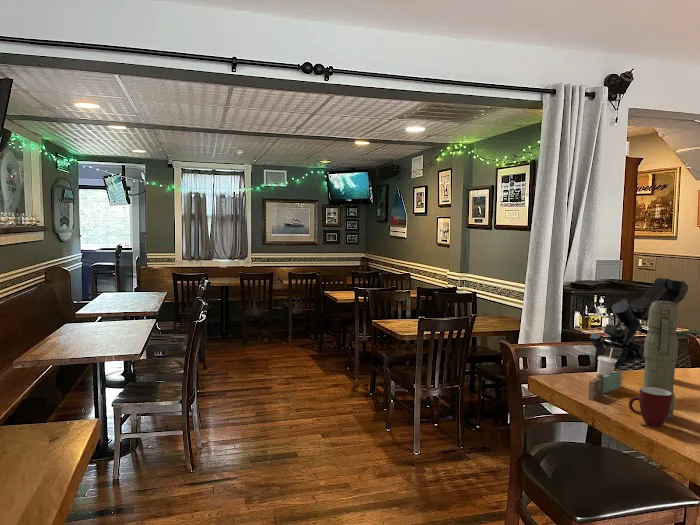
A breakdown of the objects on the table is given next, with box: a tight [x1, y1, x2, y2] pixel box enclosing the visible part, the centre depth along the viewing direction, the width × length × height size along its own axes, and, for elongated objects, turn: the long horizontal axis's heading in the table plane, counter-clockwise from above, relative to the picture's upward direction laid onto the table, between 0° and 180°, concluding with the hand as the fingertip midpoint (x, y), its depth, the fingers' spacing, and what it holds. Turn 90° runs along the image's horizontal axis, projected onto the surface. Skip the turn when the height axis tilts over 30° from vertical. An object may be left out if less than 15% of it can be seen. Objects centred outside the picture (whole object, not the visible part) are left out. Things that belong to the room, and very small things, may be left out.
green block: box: [602, 370, 623, 395], centre depth 177 cm, size 13×2×6 cm, turn 127°
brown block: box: [588, 373, 603, 401], centre depth 176 cm, size 24×2×7 cm, turn 133°
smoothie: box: [596, 347, 618, 376], centre depth 180 cm, size 6×6×14 cm
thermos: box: [642, 299, 679, 420], centre depth 154 cm, size 9×12×35 cm
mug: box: [628, 386, 672, 428], centre depth 147 cm, size 11×8×10 cm
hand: (605, 363), depth 179 cm, fingers open, 7 cm apart
